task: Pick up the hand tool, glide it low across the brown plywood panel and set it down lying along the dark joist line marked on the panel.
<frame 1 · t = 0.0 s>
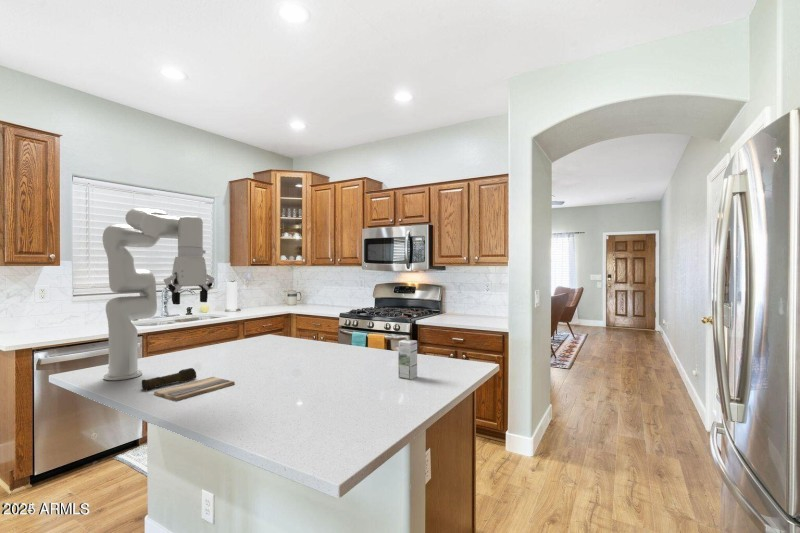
hand: (190, 303, 138), 31 cm above the countertop, tool pointing down, fingers open, 9 cm apart
syrup box: (407, 377, 161), on the countertop
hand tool: (170, 384, 152), on the countertop
plywood panel: (196, 389, 145), on the countertop
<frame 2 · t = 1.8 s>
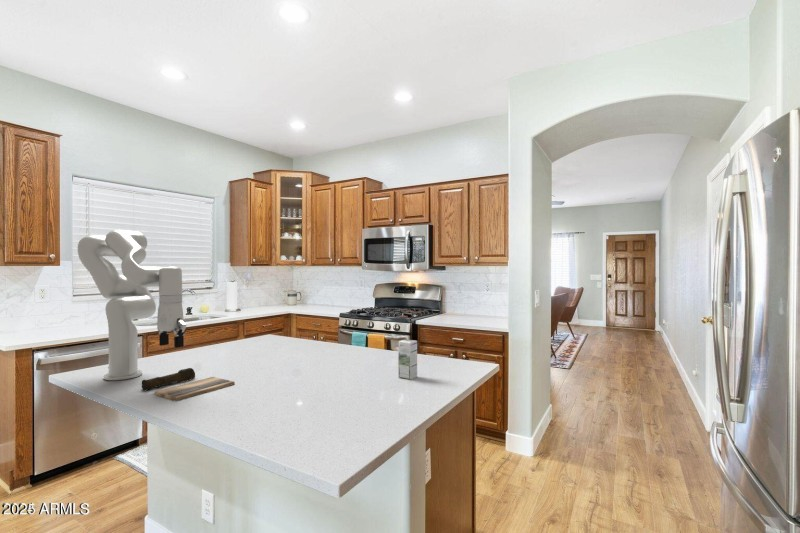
hand: (171, 346, 151), 14 cm above the countertop, tool pointing down, fingers open, 9 cm apart
nothing on the countertop moved.
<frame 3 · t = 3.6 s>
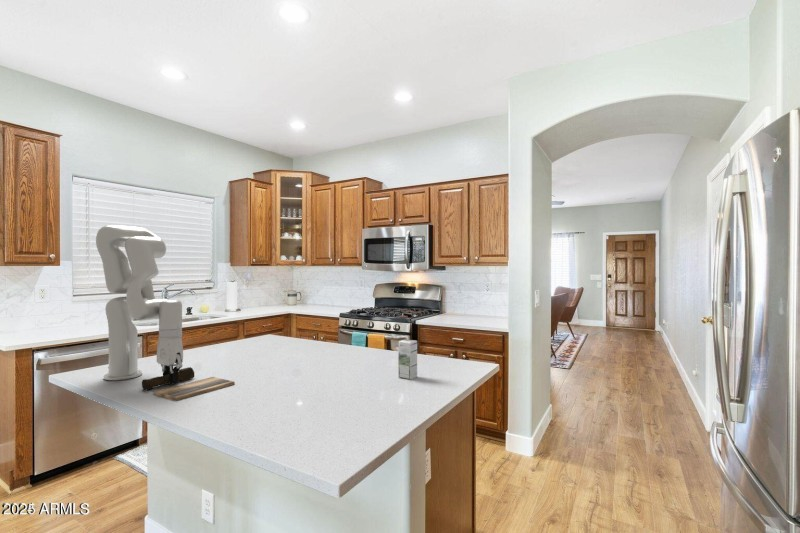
hand: (170, 382, 152), 1 cm above the countertop, tool pointing down, fingers closed on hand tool, 3 cm apart
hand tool: (169, 384, 152), on the countertop, touching gripper
everything else where it was.
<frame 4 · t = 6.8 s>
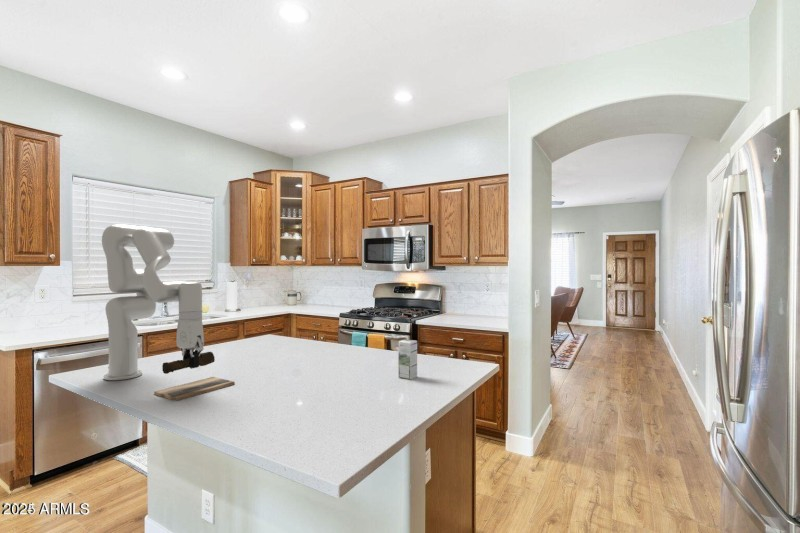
hand: (191, 366, 147), 8 cm above the countertop, tool pointing down, fingers closed on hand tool, 3 cm apart
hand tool: (189, 368, 147), point 7 cm above the countertop, touching gripper
everything else where it was.
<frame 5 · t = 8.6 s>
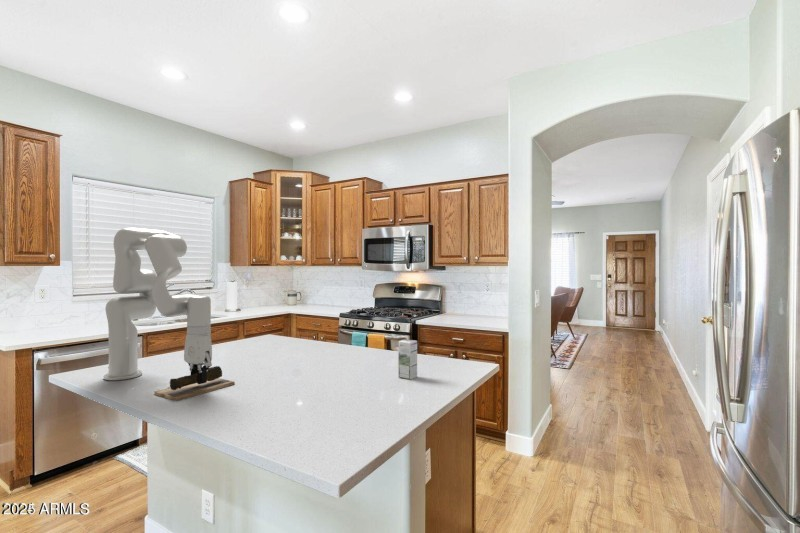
hand: (198, 382, 144), 3 cm above the countertop, tool pointing down, fingers closed on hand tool, 3 cm apart
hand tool: (197, 383, 144), point 2 cm above the countertop, touching gripper
everything else where it was.
when the fingers open (3 cm above the countertop, at t = 9.8 s): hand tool stays where it is, resting on plywood panel.
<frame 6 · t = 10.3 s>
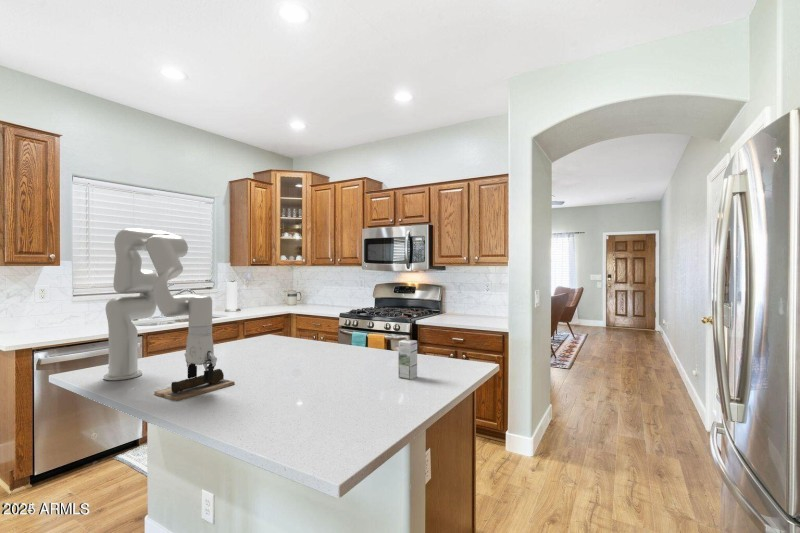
hand: (200, 379, 144), 4 cm above the countertop, tool pointing down, fingers open, 9 cm apart
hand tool: (198, 386, 144), point 1 cm above the countertop, touching plywood panel
everything else where it was.
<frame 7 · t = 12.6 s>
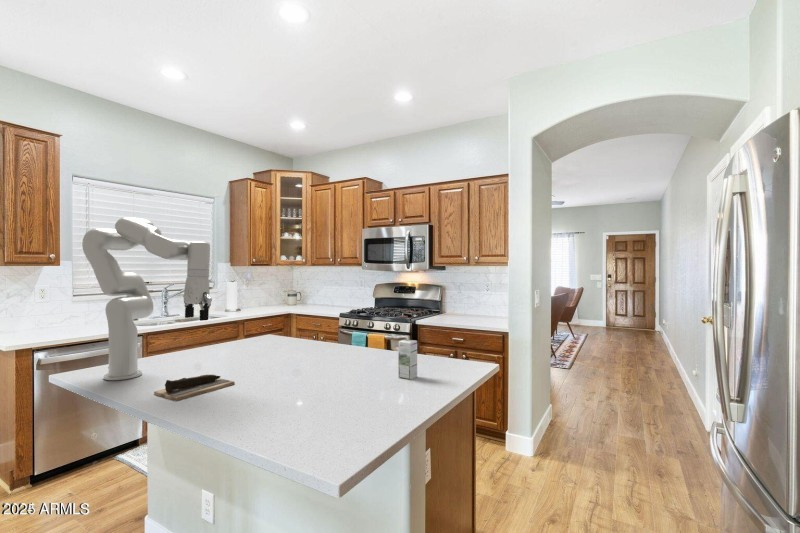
hand: (196, 318, 155), 24 cm above the countertop, tool pointing down, fingers open, 9 cm apart
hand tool: (197, 383, 144), point 2 cm above the countertop, touching plywood panel
everything else where it was.
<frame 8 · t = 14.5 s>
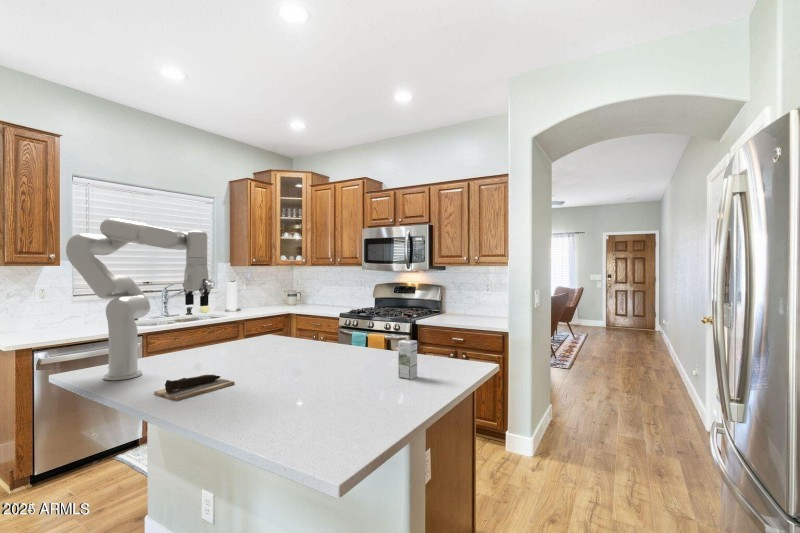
hand: (196, 305, 162), 28 cm above the countertop, tool pointing down, fingers open, 9 cm apart
nothing on the countertop moved.
at the end: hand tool inside the target area on the plywood panel (1.4 cm from its centre), point 2.3 cm above the plywood panel's base; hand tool touching plywood panel; the gripper is holding nothing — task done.
